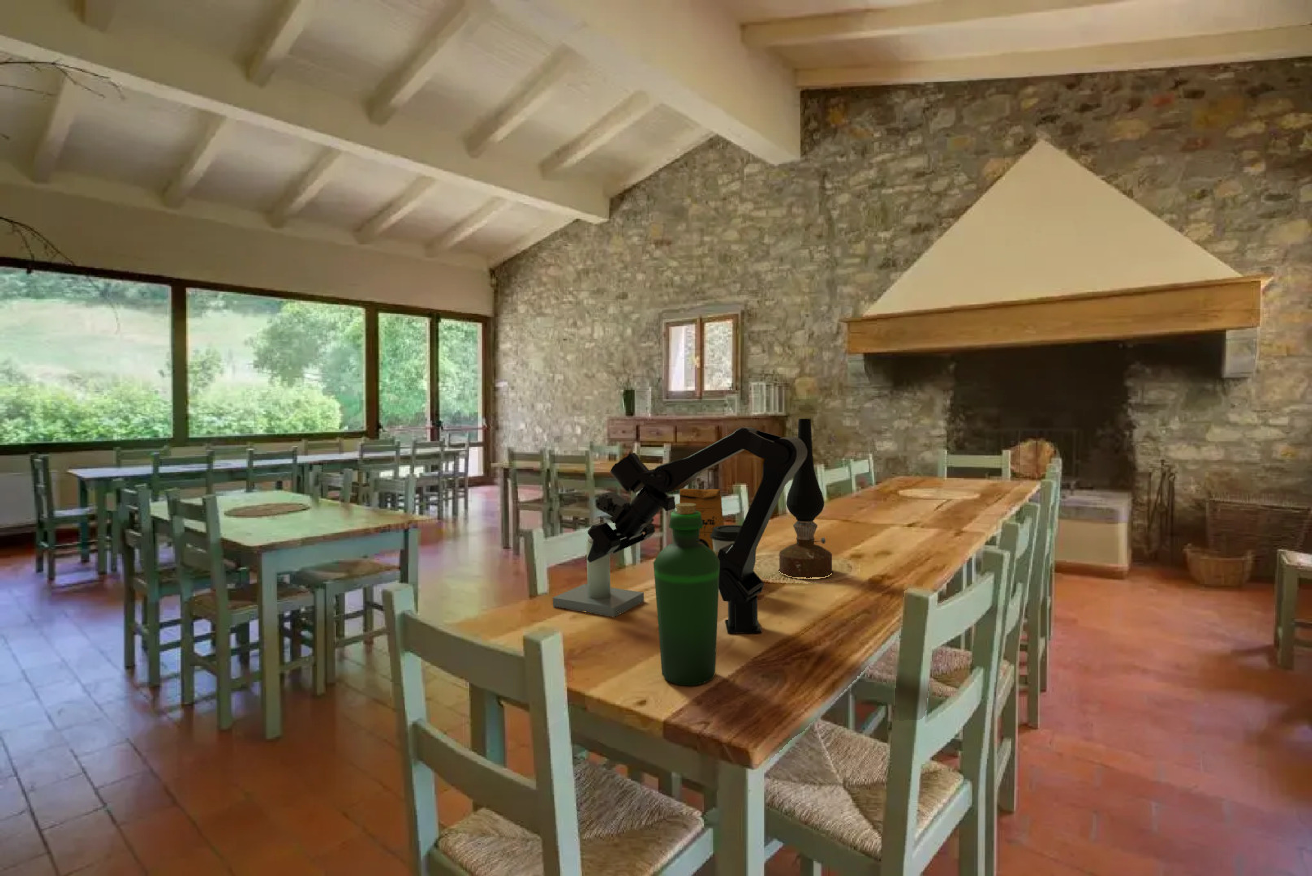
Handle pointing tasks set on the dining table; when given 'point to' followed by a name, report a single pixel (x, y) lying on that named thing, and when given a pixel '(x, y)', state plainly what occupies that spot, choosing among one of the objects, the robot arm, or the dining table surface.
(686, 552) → the bottle
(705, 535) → the coffee package
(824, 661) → the dining table surface
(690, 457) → the robot arm
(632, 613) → the dining table surface
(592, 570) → the shaker
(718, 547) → the coffee cup
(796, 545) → the oil lamp
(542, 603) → the dining table surface
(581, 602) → the slate board
